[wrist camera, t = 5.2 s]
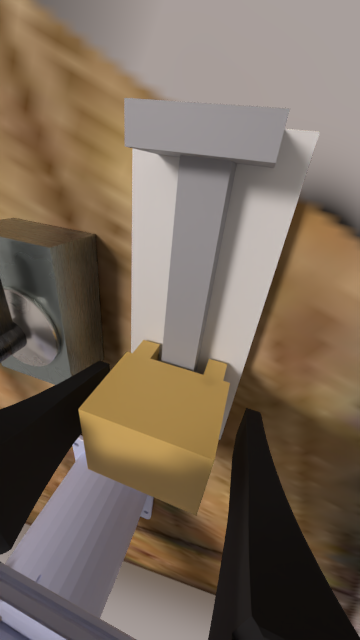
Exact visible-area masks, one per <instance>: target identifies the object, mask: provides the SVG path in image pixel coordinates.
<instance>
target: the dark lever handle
mask: <svg viewBox="0 0 360 640" xmlns="http://www.w3.org/2000/svg"><path fill="white" fill-rule="evenodd" d="M26 344H27V339H26V336H25V334H24V332H23V330H22V329H21V328H20V327H19V326H18V325H17V324H16V323H14V322H13V320H12V317H11V313H10V310H9V306H8V303H7V300H6V296H5V293H4V289H3V286H2V282H1V279H0V363H1V362H2V361H4V360H5V359H7V358H8V357H10V356H11V355H13V354H14V353H16V352H17V351H19V350H20V349H22V348H23V347H25V346H26Z"/></svg>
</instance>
